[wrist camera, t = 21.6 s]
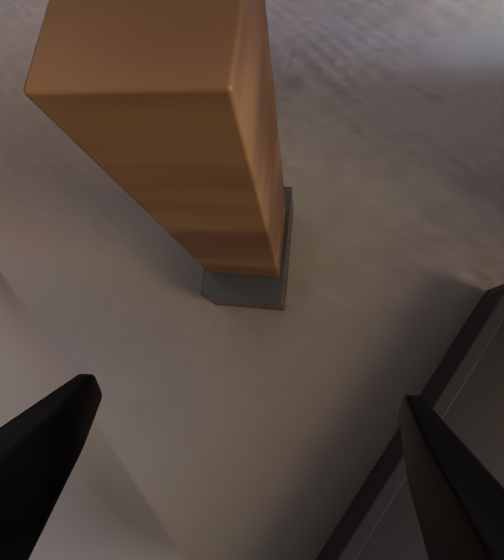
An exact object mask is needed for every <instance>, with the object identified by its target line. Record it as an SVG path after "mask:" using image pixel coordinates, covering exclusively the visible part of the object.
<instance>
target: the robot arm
mask: <svg viewBox="0 0 504 560" xmlns="http://www.w3.org/2000/svg"><path fill="white" fill-rule="evenodd" d="M101 398H102V393H101V390H100V388H99V385H98V383H97V380H96V378H95V376H94V375H92V374H79V375H77V376H76V377H74V378H73V379H71V380H70V381H68V382H67V383H65V384H64V385H62V386H61V387H59V388H58V389H57V390H55V391H53V392H52V393H51V394H49V395H48V396H46V397H45V398H43V399H42V400H40V401H39V402H37V403H36V404H34V405H33V406H31V407H30V408H29V409H27V410H26V411H24V412H23V413H21V414H20V415H18V416H17V417H15V418H14V419H12V420H11V421H9V422H8V423H6V424H5V425H4V426H2V427H1V428H0V560H28V559H29V557H30V555H31V553H32V551H33V549H34V547H35V545H36V543H37V541H38V539H39V537H40V535H41V533H42V531H43V529H44V527H45V525H46V523H47V521H48V518H49V516H50V514H51V512H52V510H53V508H54V506H55V504H56V502H57V500H58V498H59V496H60V494H61V492H62V490H63V488H64V486H65V484H66V482H67V480H68V477H69V476H70V473H71V471H72V469H73V467H74V465H75V463H76V461H77V459H78V457H79V455H80V453H81V451H82V449H83V446H84V444H85V441H86V439H87V436H88V433H89V431H90V428H91V426H92V423H93V420H94V418H95V415H96V412H97V410H98V407H99V404H100V402H101ZM399 426H400V433H401V439H402V446H403V452H404V459H405V466H406V472H407V478H408V483H409V487H410V491H411V495H412V499H413V503H414V506H415V510H416V514H417V518H418V521H419V525H420V529H421V533H422V536H423V540H424V544H425V548H426V551H427V555H428V559H429V560H504V487H503V486H502V485H501V484H500V483H499V482H498V481H497V480H496V479H495V477H494V476H493V475H492V474H491V473H490V472H489V471H488V470H487V469H486V467H485V466H484V465H483V464H482V463H481V462H480V461H479V460H478V459H477V457H476V456H475V455H474V454H473V453H472V452H471V451H470V450H469V449H468V447H467V446H466V445H465V444H464V443H463V442H462V441H461V440H460V439H459V437H458V436H457V435H456V434H455V433H454V432H453V431H452V430H451V429H450V427H449V426H448V425H447V424H446V423H445V422H444V421H443V420H442V419H441V417H440V416H439V415H438V414H437V413H436V412H435V411H434V410H433V409H432V407H431V406H430V405H429V404H428V403H427V402H426V401H425V400H424V399H423V398H422V397H421V396H418V395H405V396H404V397H403V400H402V404H401V408H400V412H399Z"/></svg>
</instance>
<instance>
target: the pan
mask: <svg viewBox="0 0 504 560" xmlns="http://www.w3.org/2000/svg"><path fill="white" fill-rule="evenodd" d="M420 396H421V397H422V398H423V399H424V400H425V401H426V402H427V403H428V404H429V405H430V406H431V407H432V409H433V410H434V411H435V412H436V413H437V414H438V415H439V416H440V417H441V419H442V420H443V421H444V422H445V423H446V424H447V425H448V426H449V427H450V429H451V430H452V431H453V432H454V433H455V434H456V435H457V436H458V437H459V439H460V440H461V441H462V442H463V443H464V444H465V445H466V446H467V447H468V449H469V450H470V451H471V452H472V453H473V454H474V455H475V456H476V457H477V459H478V460H479V461H480V462H481V463H482V464H483V465H484V466H485V467H486V469H487V470H488V471H489V472H490V473H491V474H492V475H493V476H494V477H495V479H496V480H497V481H498V482H499V483H500V484H501V485H502V486H503V487H504V284H503V285H500V286H497V287H495V288H492V289H489V290H487V291H486V292H485V293H484V295H483V296H482V298H481V300H480V301H479V303H478V304H477V306H476V308H475V309H474V311H473V312H472V314H471V315H470V317H469V319H468V320H467V322H466V323H465V325H464V326H463V328H462V330H461V331H460V333H459V334H458V336H457V338H456V339H455V341H454V342H453V344H452V345H451V347H450V349H449V350H448V352H447V353H446V355H445V357H444V358H443V360H442V361H441V363H440V364H439V366H438V368H437V369H436V371H435V372H434V374H433V375H432V377H431V379H430V380H429V382H428V383H427V385H426V387H425V388H424V390H423V391H422V393H421V394H420ZM316 560H429V559H428V555H427V551H426V548H425V544H424V540H423V536H422V533H421V529H420V525H419V521H418V518H417V514H416V510H415V506H414V503H413V499H412V495H411V491H410V487H409V483H408V478H407V472H406V466H405V459H404V452H403V446H402V439H401V433H400V428H399V429H398V431H397V432H396V434H395V436H394V437H393V439H392V440H391V442H390V443H389V445H388V447H387V448H386V450H385V451H384V453H383V454H382V456H381V458H380V459H379V461H378V462H377V464H376V466H375V467H374V469H373V470H372V472H371V473H370V475H369V477H368V478H367V480H366V481H365V483H364V485H363V486H362V488H361V489H360V491H359V492H358V494H357V496H356V497H355V499H354V500H353V502H352V503H351V505H350V507H349V508H348V510H347V511H346V513H345V515H344V516H343V518H342V519H341V521H340V522H339V524H338V526H337V527H336V529H335V530H334V532H333V533H332V535H331V537H330V538H329V540H328V541H327V543H326V545H325V546H324V548H323V549H322V551H321V552H320V554H319V556H318V557H317V559H316Z"/></svg>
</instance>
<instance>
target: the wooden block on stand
mask: <svg viewBox="0 0 504 560" xmlns="http://www.w3.org/2000/svg"><path fill="white" fill-rule="evenodd" d="M24 93H25V94H26V96H27V97H28V98H29V99H31V100H32V101H33V102H34V103H35V104H36V105H37V106H38V107H39V108H40V109H41V110H42V111H43V112H44V113H45V114H46V115H47V116H48V117H49V118H50V119H51V120H52V121H53V122H54V123H55V124H56V125H57V126H58V127H59V128H61V129H62V130H63V131H64V132H65V133H66V134H67V135H68V136H69V137H70V138H71V139H72V140H73V141H74V142H75V143H76V144H77V145H78V146H79V147H80V148H81V149H82V150H83V151H84V152H85V153H86V154H87V155H88V156H89V157H91V158H92V159H93V160H94V161H95V162H96V163H97V164H98V165H99V166H100V167H101V168H102V169H103V170H104V171H105V172H106V173H107V174H108V175H109V176H110V177H111V178H112V179H113V180H114V181H115V182H116V183H117V184H118V185H119V186H121V187H122V188H123V189H124V190H125V191H126V192H127V193H128V194H129V195H130V196H131V197H132V198H133V199H134V200H135V201H136V202H137V203H138V204H139V205H140V206H141V207H142V208H143V209H144V210H145V211H146V212H147V213H148V214H149V215H151V216H152V217H153V218H154V219H155V220H156V221H157V222H158V223H159V224H160V225H161V226H162V227H163V228H164V229H165V230H166V231H167V232H168V233H169V234H170V235H171V236H172V237H173V238H174V239H175V240H176V241H177V242H178V243H179V244H181V245H182V246H183V247H184V248H185V249H186V250H187V251H188V252H189V253H190V254H191V255H192V256H193V257H194V258H195V259H196V260H197V261H198V262H199V263H200V264H201V265H202V266H203V267H204V268H205V271H204V278H203V285H202V292H201V295H202V296H203V297H205V298H206V299H208V300H209V301H211V302H212V303H214V304H215V305H225V306H236V307H248V308H259V309H271V310H282V311H284V310H285V299H286V288H287V276H288V265H289V253H290V242H291V230H292V219H293V200H292V187H284V186H283V176H282V166H281V156H280V146H279V136H278V126H277V115H276V105H275V95H274V85H273V75H272V65H271V55H270V45H269V35H268V25H267V15H266V5H265V0H49V3H48V6H47V10H46V13H45V16H44V20H43V23H42V27H41V30H40V34H39V37H38V41H37V44H36V48H35V51H34V55H33V58H32V62H31V65H30V69H29V72H28V76H27V79H26V83H25V86H24Z"/></svg>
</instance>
